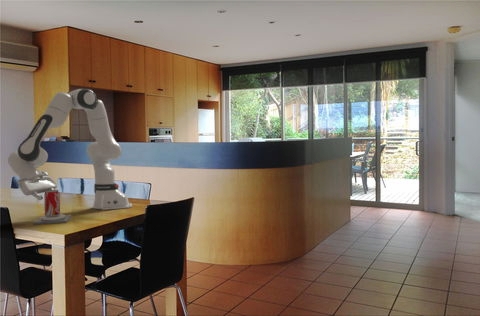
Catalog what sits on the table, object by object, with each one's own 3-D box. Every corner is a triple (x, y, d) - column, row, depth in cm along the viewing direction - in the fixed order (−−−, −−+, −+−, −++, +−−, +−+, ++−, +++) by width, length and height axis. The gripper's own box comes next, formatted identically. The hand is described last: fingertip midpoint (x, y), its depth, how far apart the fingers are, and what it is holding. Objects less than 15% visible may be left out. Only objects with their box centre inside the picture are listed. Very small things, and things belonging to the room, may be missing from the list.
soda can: (41, 216, 211) (40, 191, 211) (54, 214, 217) (53, 189, 217) (50, 218, 208) (49, 192, 207) (63, 215, 214) (62, 190, 213)
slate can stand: (71, 216, 222) (71, 212, 221) (66, 222, 207) (66, 218, 207) (40, 218, 218) (40, 214, 218) (33, 224, 203) (33, 220, 203)
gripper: (19, 175, 204) (36, 196, 202) (49, 172, 223) (65, 190, 221) (11, 184, 205) (28, 205, 203) (42, 180, 225) (58, 198, 223)
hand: (48, 197), depth 212 cm, fingers open, 8 cm apart
